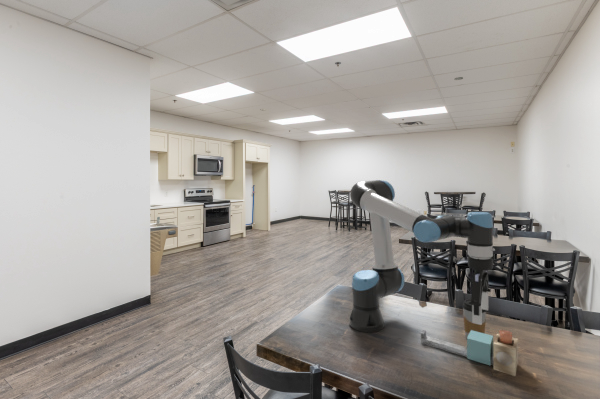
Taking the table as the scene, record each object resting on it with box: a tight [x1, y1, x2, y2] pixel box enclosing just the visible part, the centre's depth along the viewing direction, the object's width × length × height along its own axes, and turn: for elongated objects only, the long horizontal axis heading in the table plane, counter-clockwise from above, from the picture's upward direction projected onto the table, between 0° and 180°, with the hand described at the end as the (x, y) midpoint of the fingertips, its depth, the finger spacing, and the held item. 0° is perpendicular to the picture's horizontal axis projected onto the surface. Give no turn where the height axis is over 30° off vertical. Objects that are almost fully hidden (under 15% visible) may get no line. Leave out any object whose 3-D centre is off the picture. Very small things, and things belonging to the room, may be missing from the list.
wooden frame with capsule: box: [492, 333, 519, 377], centre depth 101 cm, size 6×8×9 cm
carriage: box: [466, 330, 494, 366], centre depth 106 cm, size 7×7×8 cm
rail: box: [420, 329, 494, 366], centre depth 111 cm, size 26×3×4 cm, turn 50°
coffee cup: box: [462, 298, 488, 340], centre depth 119 cm, size 8×8×15 cm
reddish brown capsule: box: [498, 329, 513, 344], centre depth 101 cm, size 4×4×3 cm
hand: (480, 316), depth 105 cm, fingers open, 13 cm apart
